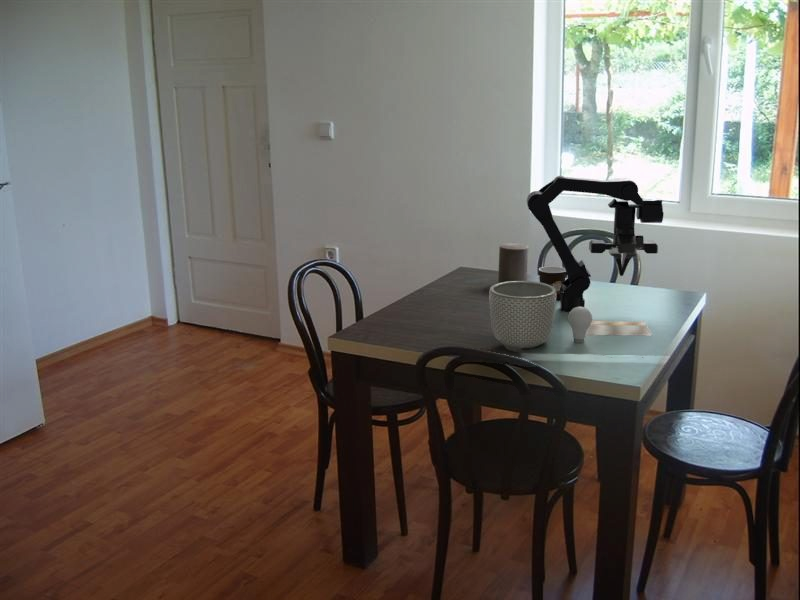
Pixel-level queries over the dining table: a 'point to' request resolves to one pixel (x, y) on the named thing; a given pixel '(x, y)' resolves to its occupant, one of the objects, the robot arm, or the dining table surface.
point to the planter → (522, 313)
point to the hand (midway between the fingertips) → (621, 275)
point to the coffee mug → (553, 278)
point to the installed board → (618, 330)
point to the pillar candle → (513, 262)
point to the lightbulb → (579, 322)
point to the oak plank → (615, 323)
